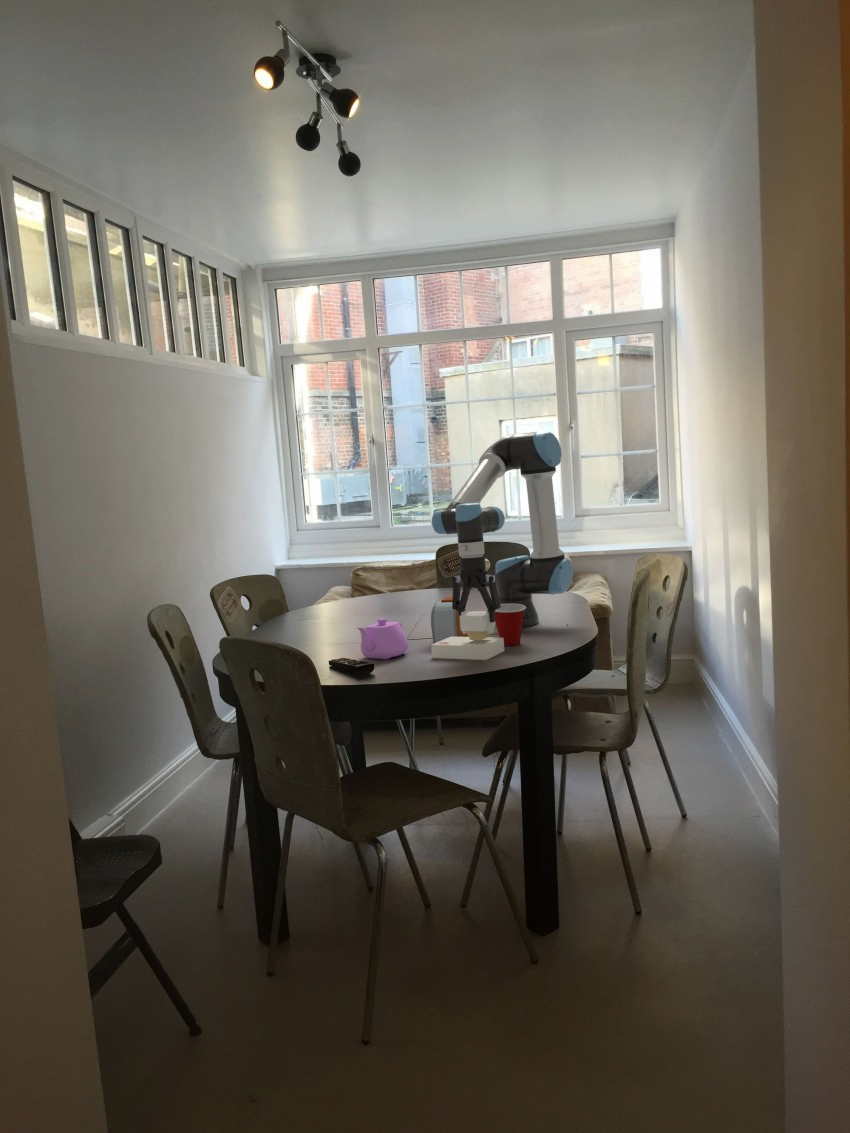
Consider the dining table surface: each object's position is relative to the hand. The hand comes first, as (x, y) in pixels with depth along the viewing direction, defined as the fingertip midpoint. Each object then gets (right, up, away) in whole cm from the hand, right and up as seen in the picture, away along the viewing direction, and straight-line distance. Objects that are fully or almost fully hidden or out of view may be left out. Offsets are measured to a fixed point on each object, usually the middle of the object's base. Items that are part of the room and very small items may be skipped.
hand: (478, 633), depth 264 cm
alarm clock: (-7, -5, +26) cm, 28 cm away
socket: (-3, -7, +3) cm, 8 cm away
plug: (0, -2, 0) cm, 2 cm away
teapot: (-29, -8, +10) cm, 32 cm away
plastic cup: (+11, -5, +12) cm, 17 cm away
